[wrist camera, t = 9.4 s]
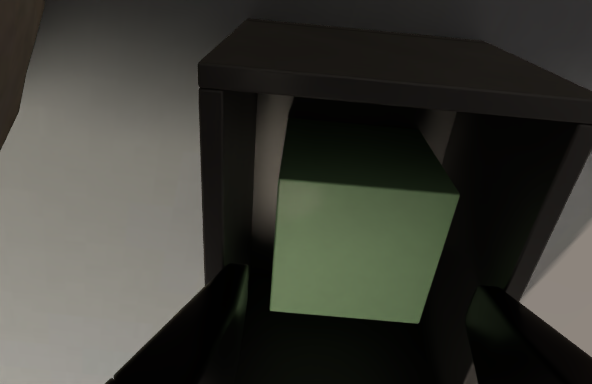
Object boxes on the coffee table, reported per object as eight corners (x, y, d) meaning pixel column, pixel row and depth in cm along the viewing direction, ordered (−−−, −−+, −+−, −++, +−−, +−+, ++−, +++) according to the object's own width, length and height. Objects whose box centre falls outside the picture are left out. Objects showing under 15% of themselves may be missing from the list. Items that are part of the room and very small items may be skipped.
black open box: (411, 286, 15) (456, 435, 11) (241, 272, 15) (208, 413, 11) (485, 40, 11) (615, 101, 6) (247, 17, 11) (197, 62, 6)
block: (419, 128, 12) (461, 194, 8) (393, 236, 14) (419, 324, 10) (287, 117, 12) (278, 177, 8) (279, 226, 14) (269, 311, 10)
